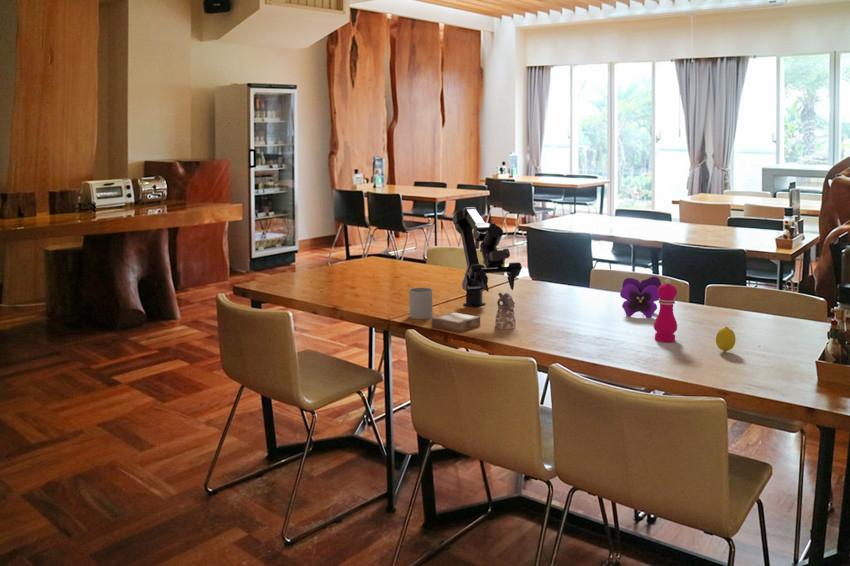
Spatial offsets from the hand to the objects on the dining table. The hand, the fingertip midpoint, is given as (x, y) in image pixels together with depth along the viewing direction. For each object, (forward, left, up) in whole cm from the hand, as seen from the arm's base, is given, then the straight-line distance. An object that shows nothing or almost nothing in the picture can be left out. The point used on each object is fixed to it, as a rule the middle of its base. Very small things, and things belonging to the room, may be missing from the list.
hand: (500, 290), depth 270 cm
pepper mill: (-15, +55, -12) cm, 58 cm away
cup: (+10, -28, -12) cm, 32 cm away
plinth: (+13, -9, -12) cm, 20 cm away
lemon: (-13, +75, -12) cm, 77 cm away
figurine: (+3, +5, -12) cm, 13 cm away
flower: (-44, +32, -12) cm, 56 cm away
